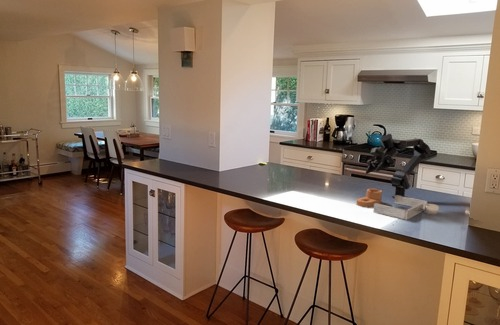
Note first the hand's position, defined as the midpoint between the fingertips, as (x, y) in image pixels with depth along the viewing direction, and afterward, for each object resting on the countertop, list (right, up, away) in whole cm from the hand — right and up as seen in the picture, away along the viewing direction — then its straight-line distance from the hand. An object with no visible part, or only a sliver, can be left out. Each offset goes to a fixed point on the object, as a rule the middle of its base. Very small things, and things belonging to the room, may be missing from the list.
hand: (371, 172), depth 208 cm
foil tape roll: (+28, -21, -11) cm, 37 cm away
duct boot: (+12, -20, -9) cm, 25 cm away
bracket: (0, -18, +4) cm, 19 cm away
